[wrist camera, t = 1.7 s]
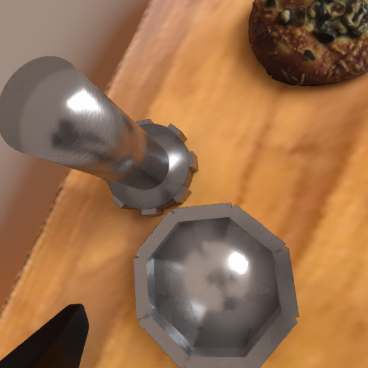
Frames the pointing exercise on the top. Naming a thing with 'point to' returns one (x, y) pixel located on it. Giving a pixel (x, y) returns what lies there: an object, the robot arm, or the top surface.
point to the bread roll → (310, 39)
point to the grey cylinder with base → (94, 136)
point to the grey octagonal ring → (215, 288)
